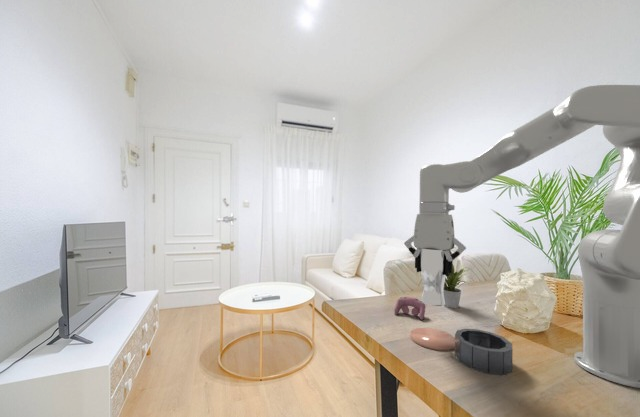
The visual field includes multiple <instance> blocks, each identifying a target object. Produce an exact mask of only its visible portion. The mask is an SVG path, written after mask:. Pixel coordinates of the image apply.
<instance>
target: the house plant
mask: <svg viewBox="0 0 640 417" xmlns="http://www.w3.org/2000/svg"><path fill="white" fill-rule="evenodd" d="M468 271H469V269H466V267H464V268H461V269H459V270H458V271H455V265H454V264H453V271H452V273H450V275H449V276H446V277H445V282H444V289H443V294H444V300H445V306H444V307H446V306H447V307H446V308H449V307H451V309H457V308H459V306H460V300H461V296H462V290H461V289H460V288H458V285H459V287H461V286H462V285H464V284H465V283H467V284H469V285H470V283H469V282H472V281H471V280H470V281H469V280H467V281H463V280H462V281H461V280H460V279H461V278H463V276H464V275H466V273H465V272H468ZM463 273H464V274H463Z"/></svg>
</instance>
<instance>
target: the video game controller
mask: <svg viewBox="0 0 640 417" xmlns="http://www.w3.org/2000/svg"><path fill="white" fill-rule="evenodd" d="M394 306H395V307H394V311H393V312H394V314H395V315H399V313H400V311H402V313H403V314H405V315H406V314H407V315H408V314H409V313H410V312H411V314H412V315H413V316H415V317H416V316H419V320H420V321H423V320H424V318H425V315H426V314H425V312H426V304H424V303H423V302H422V301H421V299H418V298H415V297H411V296H401V297H399V298H398V299H397V301H396V303H395V305H394ZM409 307H412V308H411V310H410V308H409Z"/></svg>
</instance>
